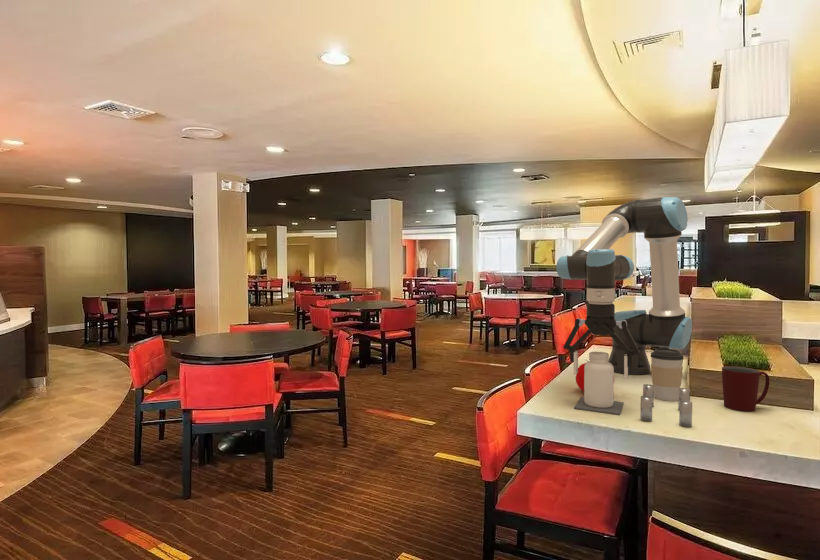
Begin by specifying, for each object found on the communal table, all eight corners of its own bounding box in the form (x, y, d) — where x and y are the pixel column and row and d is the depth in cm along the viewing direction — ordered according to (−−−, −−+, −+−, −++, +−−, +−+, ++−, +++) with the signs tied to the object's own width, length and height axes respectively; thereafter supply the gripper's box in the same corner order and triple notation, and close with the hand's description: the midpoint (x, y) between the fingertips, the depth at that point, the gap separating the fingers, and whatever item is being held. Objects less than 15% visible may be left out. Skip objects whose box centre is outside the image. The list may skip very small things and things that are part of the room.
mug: (757, 403, 141) (758, 366, 140) (778, 413, 132) (779, 373, 132) (714, 402, 142) (715, 365, 142) (732, 412, 133) (732, 372, 133)
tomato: (573, 387, 160) (573, 356, 159) (610, 389, 157) (610, 358, 157) (578, 397, 148) (578, 364, 147) (618, 399, 146) (618, 366, 145)
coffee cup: (687, 402, 142) (688, 352, 142) (654, 401, 144) (655, 351, 143) (677, 394, 151) (677, 347, 150) (646, 393, 153) (646, 346, 152)
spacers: (643, 404, 141) (643, 383, 141) (689, 409, 135) (689, 388, 135) (640, 420, 126) (640, 398, 126) (692, 428, 121) (692, 404, 120)
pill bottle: (579, 400, 142) (579, 350, 142) (605, 400, 143) (605, 350, 143) (591, 409, 135) (592, 356, 134) (618, 408, 135) (619, 355, 135)
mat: (580, 398, 147) (580, 396, 147) (623, 403, 141) (623, 402, 141) (574, 408, 136) (574, 407, 136) (619, 415, 131) (619, 413, 131)
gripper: (553, 302, 140) (553, 374, 141) (648, 305, 128) (647, 383, 130) (558, 300, 147) (558, 368, 148) (649, 302, 135) (648, 377, 136)
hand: (600, 375), depth 139 cm, fingers open, 13 cm apart
